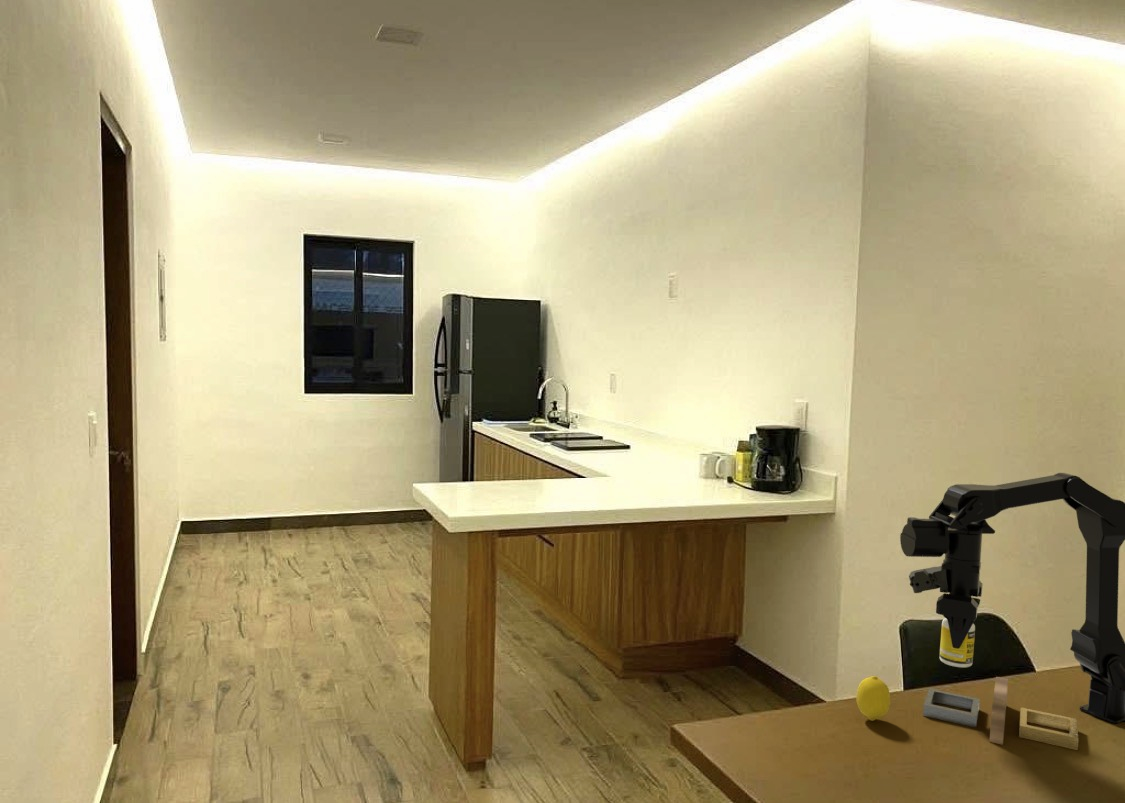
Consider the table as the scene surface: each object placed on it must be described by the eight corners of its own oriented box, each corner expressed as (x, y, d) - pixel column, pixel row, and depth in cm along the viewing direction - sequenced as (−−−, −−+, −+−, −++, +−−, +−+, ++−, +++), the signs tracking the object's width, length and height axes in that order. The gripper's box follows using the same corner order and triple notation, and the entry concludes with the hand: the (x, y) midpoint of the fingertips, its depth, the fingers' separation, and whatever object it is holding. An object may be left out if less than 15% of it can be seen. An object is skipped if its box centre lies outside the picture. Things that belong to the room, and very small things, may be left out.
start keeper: (928, 698, 158) (929, 688, 158) (979, 709, 154) (979, 698, 154) (923, 715, 151) (923, 704, 151) (976, 727, 147) (976, 716, 147)
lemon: (891, 729, 145) (894, 683, 145) (857, 725, 146) (860, 680, 146) (885, 715, 150) (888, 671, 150) (853, 712, 152) (855, 668, 151)
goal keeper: (1019, 718, 151) (1020, 707, 151) (1075, 730, 147) (1076, 718, 147) (1018, 737, 144) (1019, 725, 143) (1077, 750, 139) (1078, 738, 139)
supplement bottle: (970, 670, 148) (974, 615, 147) (937, 663, 151) (940, 609, 150) (974, 661, 153) (977, 607, 152) (941, 654, 155) (945, 602, 155)
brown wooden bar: (994, 703, 157) (995, 676, 157) (1006, 705, 156) (1008, 679, 156) (989, 741, 142) (991, 712, 141) (1002, 744, 141) (1004, 715, 140)
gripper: (920, 540, 162) (915, 620, 164) (906, 561, 146) (902, 650, 147) (984, 548, 157) (979, 631, 158) (978, 571, 141) (973, 663, 142)
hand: (957, 643), depth 151 cm, fingers closed on supplement bottle, 5 cm apart
